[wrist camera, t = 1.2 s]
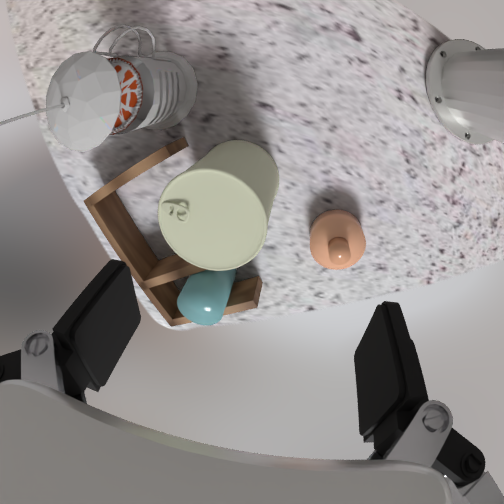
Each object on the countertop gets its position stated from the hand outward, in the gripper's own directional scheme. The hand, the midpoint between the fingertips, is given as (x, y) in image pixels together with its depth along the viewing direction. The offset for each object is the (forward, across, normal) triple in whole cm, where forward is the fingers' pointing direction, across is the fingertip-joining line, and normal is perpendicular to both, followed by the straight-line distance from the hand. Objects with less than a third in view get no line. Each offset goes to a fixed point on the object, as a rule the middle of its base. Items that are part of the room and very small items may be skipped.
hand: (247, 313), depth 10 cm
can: (+24, +5, +3) cm, 24 cm away
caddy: (+24, +12, +11) cm, 29 cm away
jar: (+24, +7, +16) cm, 29 cm away
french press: (+24, +15, -8) cm, 29 cm away
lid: (+24, -7, +8) cm, 26 cm away
